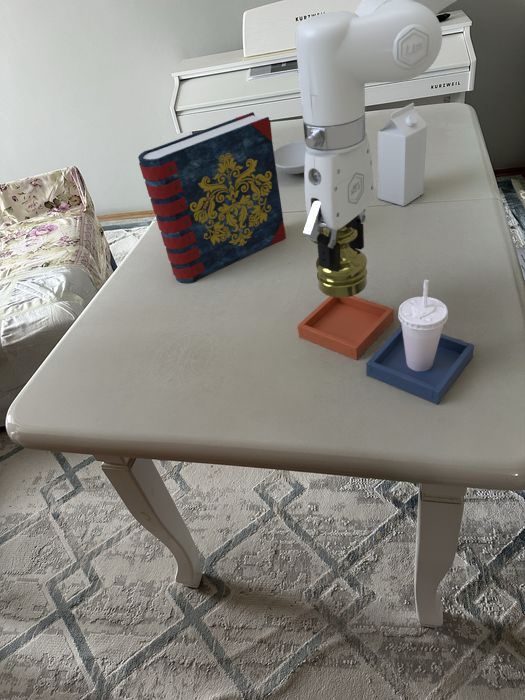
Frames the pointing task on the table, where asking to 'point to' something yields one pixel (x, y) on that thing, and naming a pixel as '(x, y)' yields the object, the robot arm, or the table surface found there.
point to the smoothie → (422, 329)
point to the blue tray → (423, 384)
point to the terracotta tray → (346, 324)
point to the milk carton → (402, 157)
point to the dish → (291, 157)
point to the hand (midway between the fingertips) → (341, 256)
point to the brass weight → (344, 267)
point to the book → (215, 195)
